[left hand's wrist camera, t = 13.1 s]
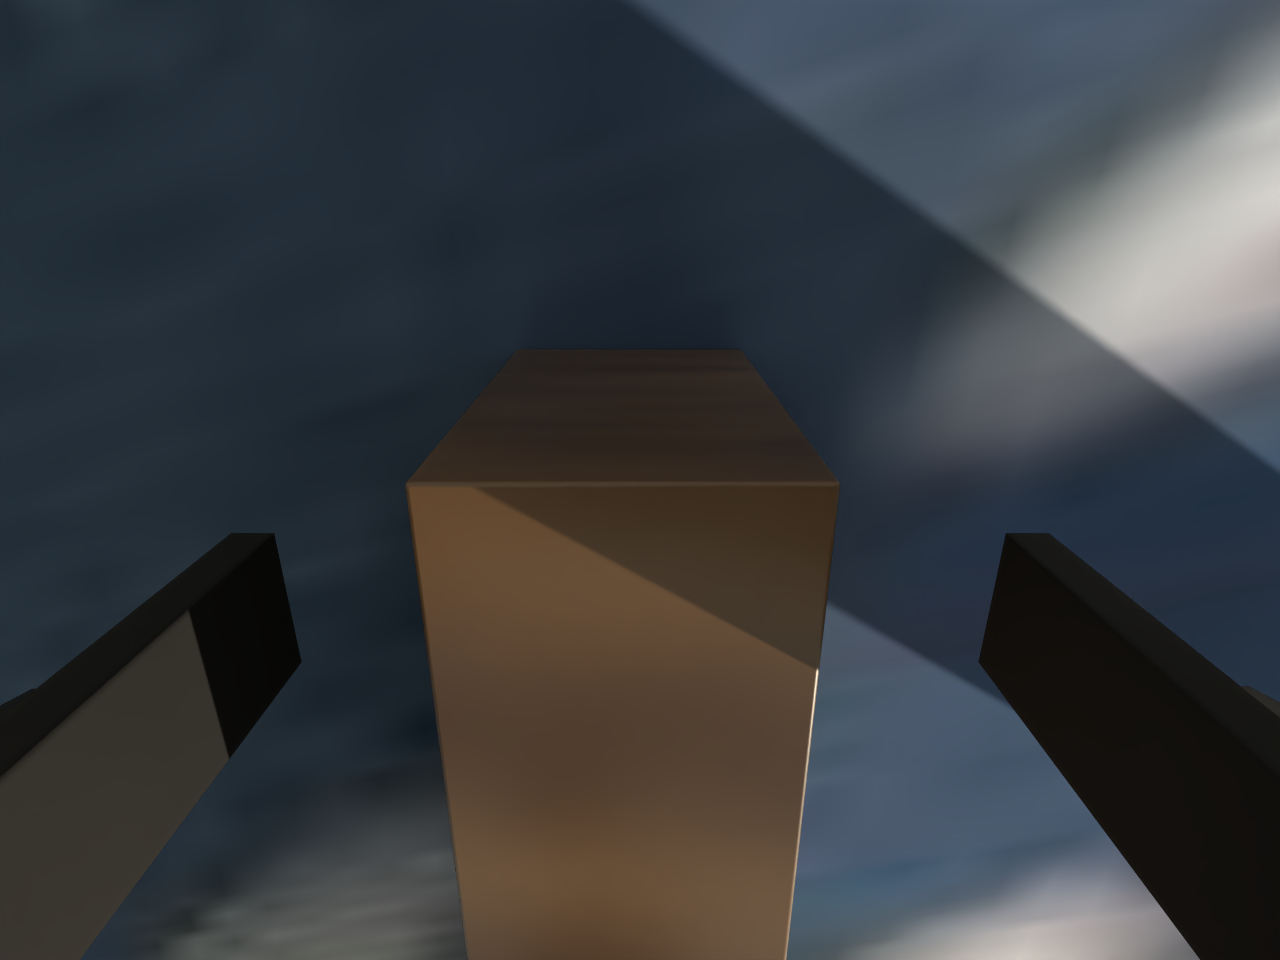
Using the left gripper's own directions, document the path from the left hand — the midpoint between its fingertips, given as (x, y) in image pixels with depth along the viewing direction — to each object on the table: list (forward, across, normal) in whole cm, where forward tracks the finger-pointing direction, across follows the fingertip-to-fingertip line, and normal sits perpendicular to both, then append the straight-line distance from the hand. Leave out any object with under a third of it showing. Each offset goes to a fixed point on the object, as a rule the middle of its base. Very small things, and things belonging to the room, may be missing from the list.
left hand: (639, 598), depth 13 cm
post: (+4, 0, -25) cm, 25 cm away
